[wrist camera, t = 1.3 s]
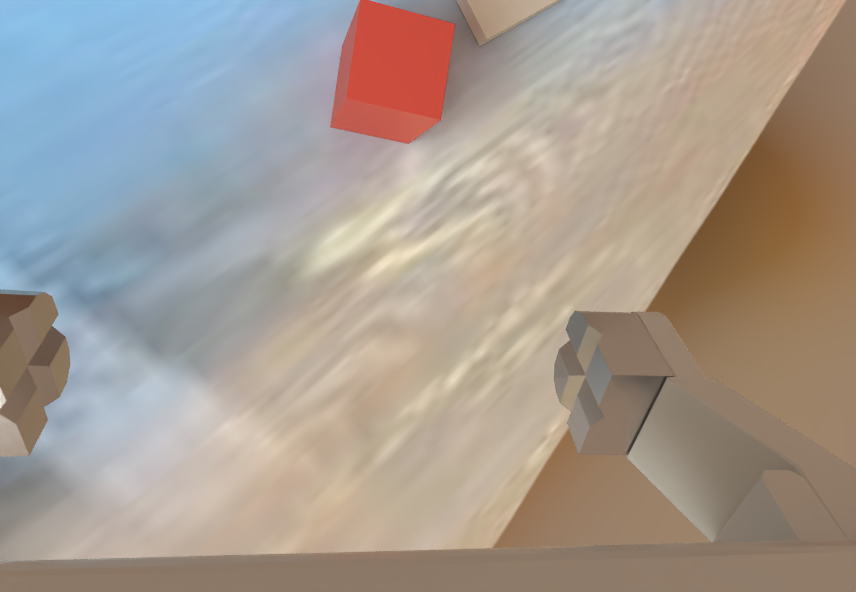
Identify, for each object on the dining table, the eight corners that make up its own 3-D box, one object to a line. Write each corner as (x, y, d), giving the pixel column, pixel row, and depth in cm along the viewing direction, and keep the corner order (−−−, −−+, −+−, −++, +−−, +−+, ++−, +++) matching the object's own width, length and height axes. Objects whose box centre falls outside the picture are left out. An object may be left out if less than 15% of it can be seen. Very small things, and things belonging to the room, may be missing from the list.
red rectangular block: (330, 127, 41) (346, 98, 34) (342, 45, 41) (360, -2, 33) (408, 143, 43) (440, 119, 35) (420, 65, 43) (455, 24, 35)
